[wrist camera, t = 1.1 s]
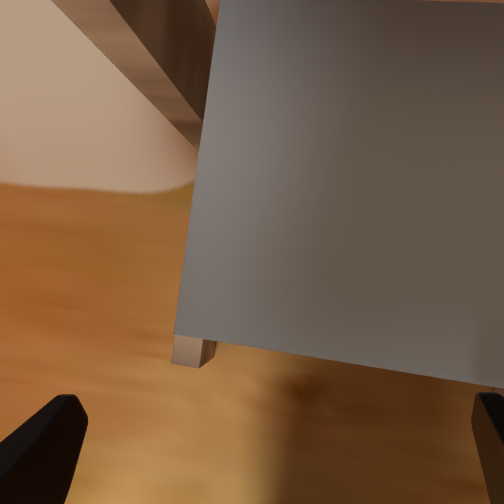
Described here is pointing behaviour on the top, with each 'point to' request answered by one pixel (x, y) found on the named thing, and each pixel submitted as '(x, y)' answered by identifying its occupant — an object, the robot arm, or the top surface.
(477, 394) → the robot arm
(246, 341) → the tall block
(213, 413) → the top surface
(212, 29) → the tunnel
